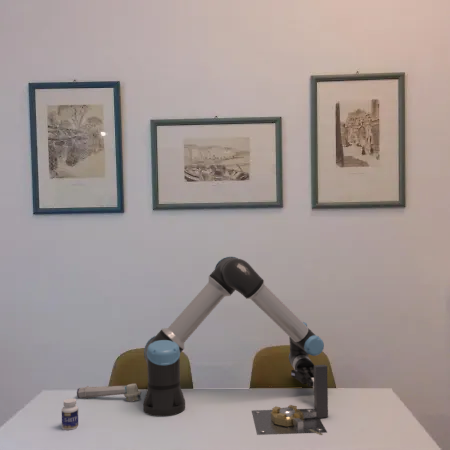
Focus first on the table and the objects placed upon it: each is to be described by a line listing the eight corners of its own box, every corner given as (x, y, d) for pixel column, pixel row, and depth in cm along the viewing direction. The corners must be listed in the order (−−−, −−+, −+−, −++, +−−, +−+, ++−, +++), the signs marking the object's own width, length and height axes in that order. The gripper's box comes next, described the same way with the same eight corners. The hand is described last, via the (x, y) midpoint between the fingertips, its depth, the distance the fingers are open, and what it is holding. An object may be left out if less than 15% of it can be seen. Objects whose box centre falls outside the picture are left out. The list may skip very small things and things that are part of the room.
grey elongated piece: (81, 385, 197) (141, 379, 193) (84, 402, 197) (143, 396, 193) (75, 389, 192) (136, 383, 188) (77, 407, 192) (138, 401, 187)
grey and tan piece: (277, 427, 160) (276, 374, 159) (268, 415, 169) (267, 365, 169) (333, 421, 164) (332, 369, 163) (320, 410, 173) (320, 361, 173)
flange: (257, 440, 153) (257, 425, 153) (251, 413, 175) (251, 400, 175) (328, 438, 154) (328, 423, 154) (313, 411, 176) (313, 398, 176)
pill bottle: (63, 431, 162) (62, 404, 162) (60, 425, 167) (60, 399, 167) (80, 428, 165) (79, 401, 165) (76, 422, 170) (76, 396, 170)
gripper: (320, 376, 197) (336, 397, 174) (287, 377, 197) (298, 398, 173) (320, 357, 197) (335, 376, 174) (287, 358, 197) (298, 377, 173)
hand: (317, 387), depth 174 cm, fingers closed
